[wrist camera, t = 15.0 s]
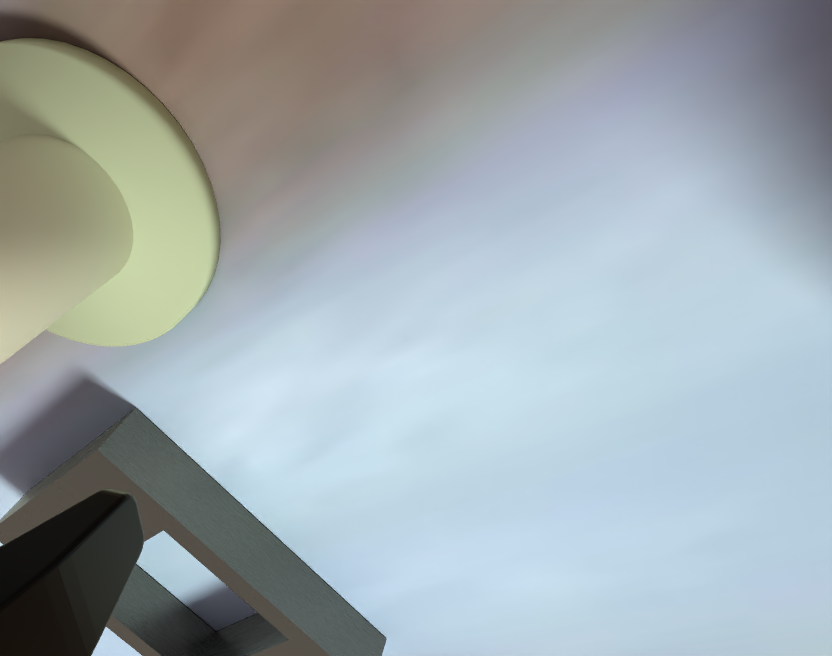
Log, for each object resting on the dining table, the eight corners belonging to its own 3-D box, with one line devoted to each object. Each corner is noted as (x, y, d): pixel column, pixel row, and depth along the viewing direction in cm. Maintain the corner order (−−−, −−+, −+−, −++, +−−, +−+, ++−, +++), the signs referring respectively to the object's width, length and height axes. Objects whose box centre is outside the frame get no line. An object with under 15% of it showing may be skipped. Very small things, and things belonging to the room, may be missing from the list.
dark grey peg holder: (386, 639, 31) (370, 691, 29) (260, 684, 36) (239, 733, 34) (135, 407, 27) (97, 449, 25) (28, 490, 32) (-12, 532, 30)
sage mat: (281, 234, 22) (268, 247, 21) (113, 374, 27) (97, 390, 26) (29, -42, 19) (2, -39, 18) (-107, 170, 24) (-133, 180, 23)
